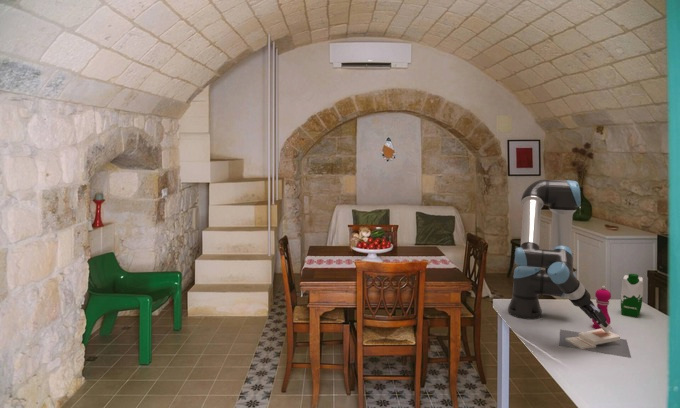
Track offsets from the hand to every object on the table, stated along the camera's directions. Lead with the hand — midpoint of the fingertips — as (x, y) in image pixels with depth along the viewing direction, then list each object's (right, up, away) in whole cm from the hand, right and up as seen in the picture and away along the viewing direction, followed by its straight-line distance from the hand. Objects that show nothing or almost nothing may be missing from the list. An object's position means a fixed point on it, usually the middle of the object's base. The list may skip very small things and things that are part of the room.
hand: (608, 329), depth 198 cm
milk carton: (+30, -2, +35) cm, 46 cm away
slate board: (-7, -6, -1) cm, 9 cm away
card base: (-13, -5, -3) cm, 14 cm away
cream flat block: (-10, -4, -2) cm, 11 cm away
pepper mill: (+5, -4, +15) cm, 16 cm away
